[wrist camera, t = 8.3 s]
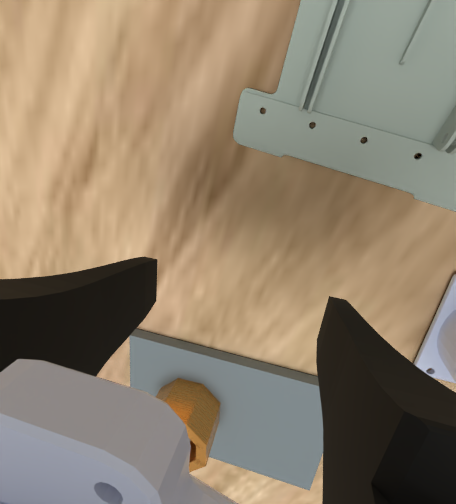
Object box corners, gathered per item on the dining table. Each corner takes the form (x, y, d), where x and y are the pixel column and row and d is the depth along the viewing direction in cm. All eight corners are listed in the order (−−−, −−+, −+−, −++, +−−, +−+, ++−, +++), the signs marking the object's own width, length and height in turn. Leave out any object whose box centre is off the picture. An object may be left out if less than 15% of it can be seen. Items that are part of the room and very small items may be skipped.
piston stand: (342, 383, 23) (353, 457, 18) (309, 479, 28) (310, 561, 22) (135, 328, 27) (91, 376, 21) (136, 422, 31) (100, 481, 26)
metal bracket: (298, -265, 9) (875, -191, 7) (313, -169, 14) (676, -108, 12) (220, 165, 18) (469, 245, 17) (244, 139, 23) (443, 200, 21)
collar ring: (221, 388, 25) (207, 430, 22) (218, 434, 27) (205, 480, 24) (160, 373, 26) (137, 410, 23) (161, 419, 28) (140, 459, 25)
